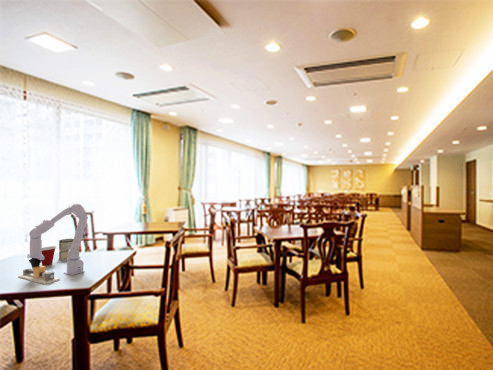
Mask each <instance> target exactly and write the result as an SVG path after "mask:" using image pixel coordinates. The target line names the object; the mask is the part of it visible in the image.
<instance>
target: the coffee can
mask: <svg viewBox="0 0 493 370" xmlns="http://www.w3.org/2000/svg"><path fill="white" fill-rule="evenodd" d="M73 239H74V238H65V239H64V238H63V239H62V238H61V239H59V240H58V246H59V247H58V249H59V250H58V254H59V255H58V257H59V258H58V260H59V261H60V260H61V261H67V258H68V250H69V249H70V248H71V245H72V243H73Z"/></svg>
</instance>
